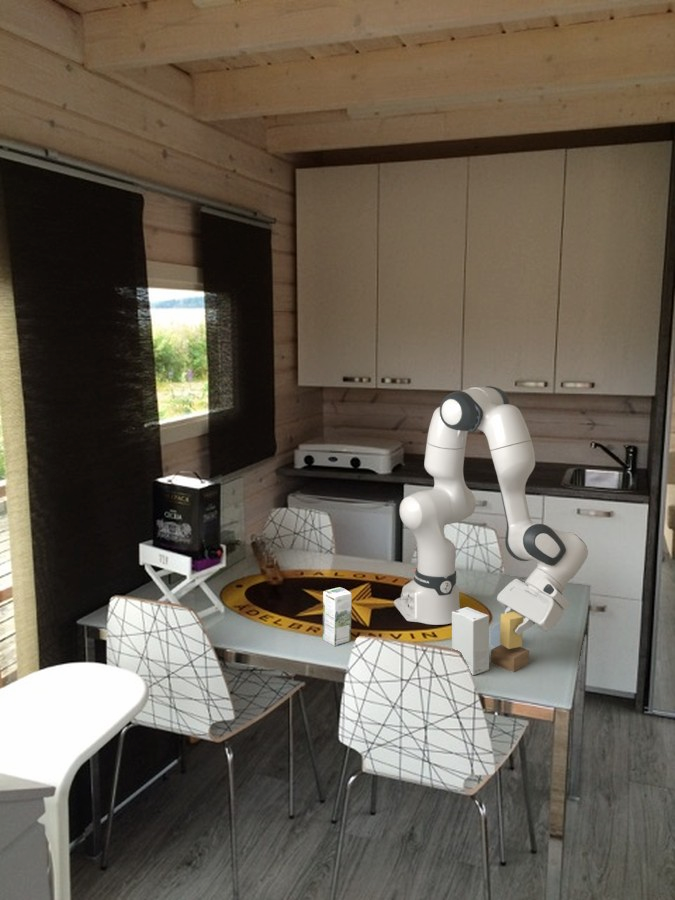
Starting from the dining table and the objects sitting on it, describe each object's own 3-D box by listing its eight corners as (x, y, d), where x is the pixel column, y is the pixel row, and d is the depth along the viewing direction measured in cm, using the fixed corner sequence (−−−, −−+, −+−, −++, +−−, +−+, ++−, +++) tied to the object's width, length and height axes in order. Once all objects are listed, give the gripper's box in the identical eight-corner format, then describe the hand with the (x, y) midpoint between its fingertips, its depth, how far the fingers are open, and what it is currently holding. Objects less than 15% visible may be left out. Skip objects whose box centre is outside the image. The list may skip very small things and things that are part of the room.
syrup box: (338, 634, 226) (339, 585, 224) (351, 642, 222) (352, 592, 219) (322, 639, 223) (322, 590, 220) (334, 647, 218) (335, 596, 216)
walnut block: (490, 664, 209) (491, 649, 209) (505, 655, 214) (506, 641, 214) (513, 673, 205) (514, 658, 204) (528, 664, 209) (529, 650, 209)
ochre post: (499, 643, 209) (500, 613, 208) (512, 640, 211) (513, 611, 210) (508, 649, 206) (510, 619, 204) (521, 646, 207) (523, 617, 206)
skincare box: (489, 670, 205) (491, 615, 202) (472, 676, 202) (474, 620, 199) (466, 658, 212) (468, 605, 209) (449, 664, 209) (451, 610, 206)
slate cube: (490, 645, 221) (490, 628, 220) (501, 640, 224) (501, 623, 223) (505, 651, 217) (506, 633, 216) (516, 645, 220) (517, 628, 219)
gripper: (511, 568, 218) (479, 608, 215) (561, 593, 199) (526, 637, 197) (524, 582, 220) (493, 621, 218) (574, 608, 202) (540, 651, 200)
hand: (509, 629), depth 207 cm, fingers closed on ochre post, 4 cm apart
